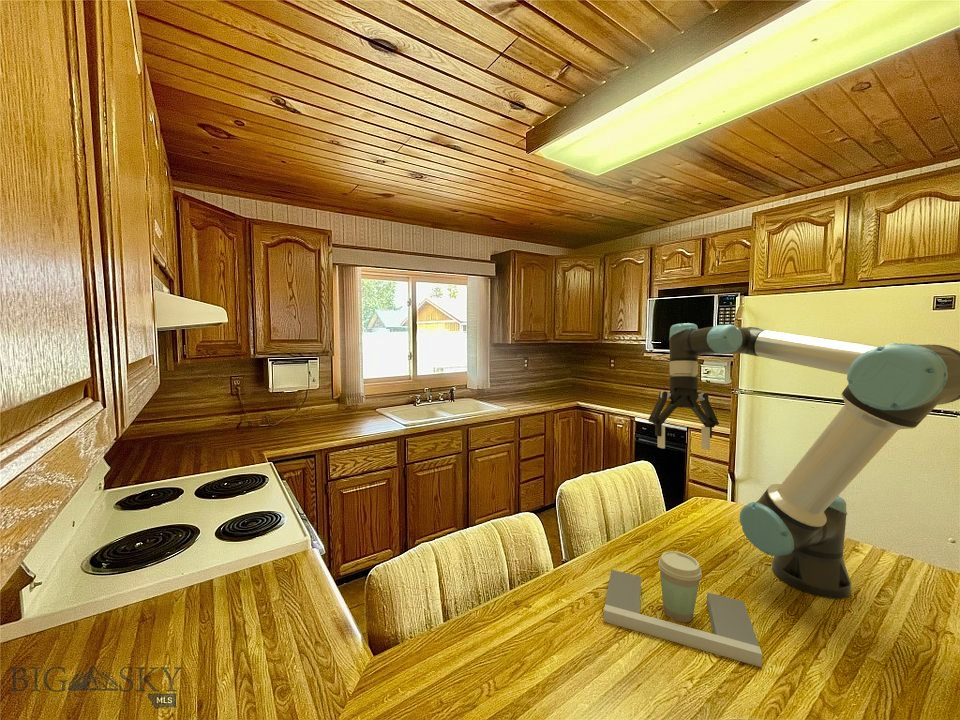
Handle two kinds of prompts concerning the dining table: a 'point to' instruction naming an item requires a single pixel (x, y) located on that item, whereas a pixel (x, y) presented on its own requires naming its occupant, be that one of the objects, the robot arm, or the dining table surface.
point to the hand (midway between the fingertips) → (683, 448)
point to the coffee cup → (679, 584)
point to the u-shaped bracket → (726, 619)
